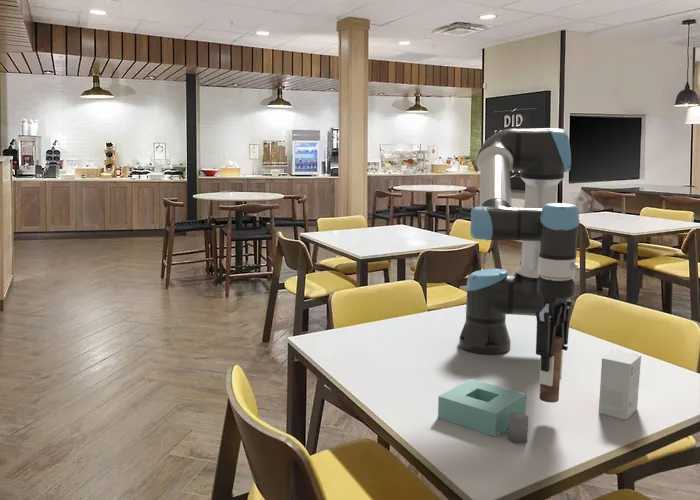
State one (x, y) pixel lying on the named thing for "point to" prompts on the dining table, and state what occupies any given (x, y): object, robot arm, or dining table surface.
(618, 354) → the small box
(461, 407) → the hole block
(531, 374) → the dining table surface
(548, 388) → the walnut dowel
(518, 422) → the charcoal dowel
